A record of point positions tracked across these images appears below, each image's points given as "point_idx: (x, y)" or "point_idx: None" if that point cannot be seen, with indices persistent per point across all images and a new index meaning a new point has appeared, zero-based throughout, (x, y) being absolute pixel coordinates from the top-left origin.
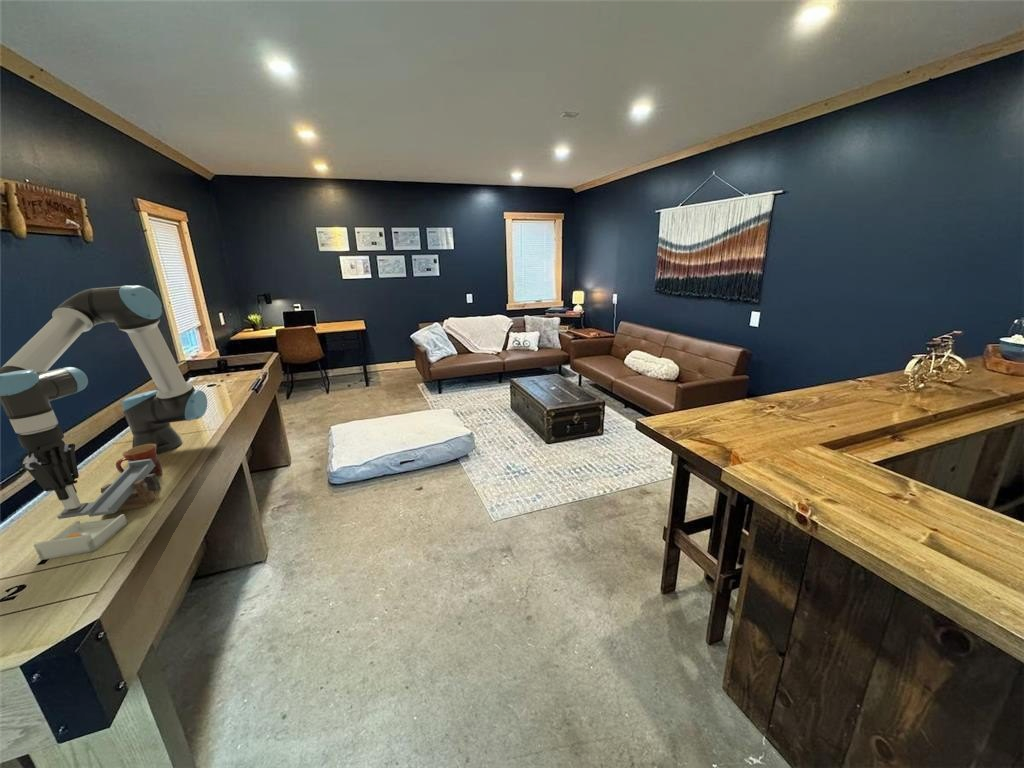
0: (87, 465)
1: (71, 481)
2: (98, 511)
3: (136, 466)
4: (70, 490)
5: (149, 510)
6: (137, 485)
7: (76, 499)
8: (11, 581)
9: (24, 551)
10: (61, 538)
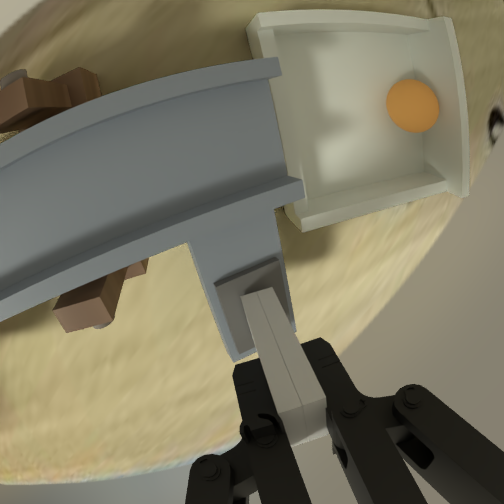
0: (34, 483)
1: (276, 439)
2: (270, 147)
3: None
4: (301, 373)
5: (137, 23)
6: (32, 88)
7: (263, 321)
8: (477, 169)
9: (373, 287)
10: (383, 189)
